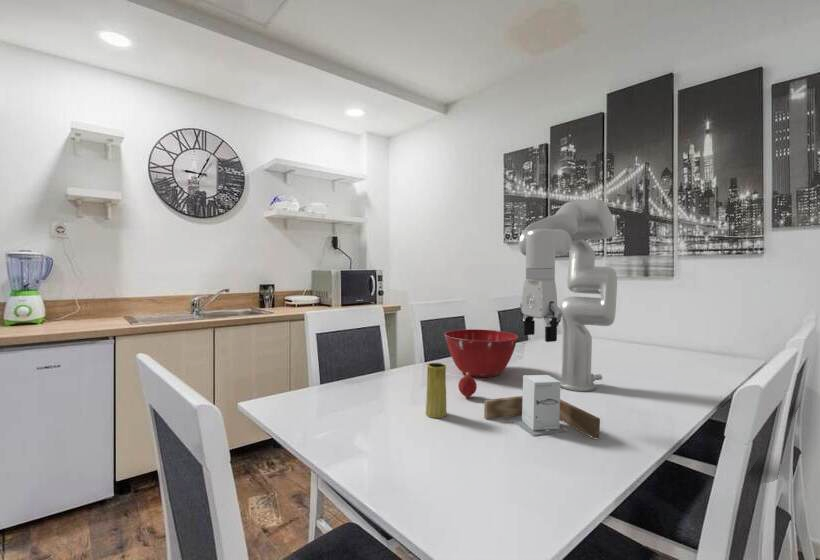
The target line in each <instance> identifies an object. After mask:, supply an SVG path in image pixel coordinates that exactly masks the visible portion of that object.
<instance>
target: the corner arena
mask: <svg viewBox="0 0 820 560" xmlns="http://www.w3.org/2000/svg"><path fill="white" fill-rule="evenodd" d="M522 402H523V395H519V396H510V397H502V398H493V399H492V398H490V399H484V406H483V407H484V408H483V409H484V411H483V412H484V413H483V416H484V417H483V418H484V419H485V420H493V419H502V418H511V417H518V416H522ZM559 421H561V422H563V421H564V422H563V423H564V424H566V423H567V425H568V424H569V426H570V425H571V426H570V427H572V426H573V427H572V428H574V427H575V428H577V429H578V430H577V429H576V430H577V431H579V430H580V431H579V432H581V431H582V432H584V433H586V434H588V435H590V436H592V437H593V438H599V439H600V437H601V436H600V429H601V427H600V426H601V418H600V417H598V416H596V415H593V414H591V413H589V412H587V411H585V410H583V409H581V408H579V407H577V406H575V405H573V404H571V403H570V402H567V401H564V400H563V399H561V398H560V416H559ZM575 428H574V429H575ZM582 432H581V433H582ZM584 433H583V434H584ZM586 434H585V435H586ZM588 435H587V436H588ZM590 436H589V437H590ZM593 438H592V439H593Z"/></svg>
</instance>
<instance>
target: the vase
mask: <svg viewBox="0 0 820 560" xmlns="http://www.w3.org/2000/svg"><path fill="white" fill-rule="evenodd" d="M426 366H427V372H426V373H427V375H426V401H425V405H426V406H425V416H427V417H428V418H431V419H441V418H445V417H447V414H448V412H447V386H446V385H447V384H446V381H447V380H446V379H447V377H446V375H447V374H446V372H447V371H446V369H447V365H446V364H445V363H441V362H430V363H428V364H427V365H426Z"/></svg>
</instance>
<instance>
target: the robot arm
mask: <svg viewBox="0 0 820 560" xmlns="http://www.w3.org/2000/svg"><path fill="white" fill-rule="evenodd" d="M615 228H616V227H615V219H614V217H613V215H612V213H611V211H610V208H609V206H608V205H607V204H606V202H604V200H602V199H599V198H592V199H582V200H581V199H580V200H577V199H576V200H570V201H568V202H565V203H564V204H563V205H562V206H560V207H559V209H558V210H557V211H556V212H555V213H554V214H552V215H549V216H547V217H544V218H541V219H539V220H537V221H534V222H532V223H531V224H528V225H527V226H526V228H524V229H523V231H522V232H521V234H520V235H519V238H518V250H519V252H520V253H521V254H522V255H523V256H525V279H524V282H523V286H522V287H523V288H522V298H521V303H520V304H519V306H520V307H519V308H520V311H521V315H522V320H523V335H524V336H533V335H535V331H536V330H535V324H536V323H535V320H534V319H539V320H540V319H543V320H544V322H545V324H546V326H545V327H544V332H545V333H544V334H545V335H544V341H545V342H546V343H551V342H553V343H554V342H557V340H558V326H559V323H562V351H561V353H562V354H561V355H562V357H561V358H562V359H561V362H562V363H561V378H559V379H557V380H558V381H560V388H562V389H565V390H569V391H574V392H575V391H576V392H589V391H591V392H592V391H594V390H596V389H597V388H596V387H597V385H596V383H595V381H601V380H603V375H602V374H600V373H599V374H594V373H592V357H593V355H592V350H593V349H592V346H593V345H592V343H593V342H592V341H593V338H592V335H591V332H590V331H589V330H588V328H587V327H586V326H598V327H609V326H612V325H613V323H614V322H615V319H616V314H617V313H616V311H617V295H618V277H617V275H618V274H617V272H616V271H615V269H614V268H613V267H609V266H595V263H596V261H595V260H596V253H595V250H594V248H592V247H591V245H590V244H589V243H588V242H587V240H606V239H610V238H611V237H612V236H613V235H614V233H615ZM567 254H569V255H568V256H569V257H568V268H567V279H566V280H567V281H566V282H567V288H568V290H569V291H570V292H572V293H575V294H576V293H577V294H585V295H586V294H588V295H589V294H590V295H592V294H593V295H600V297H591V296H569V297H566V298H564V299H563V300H562V301H561V303H560V307H559V306H558V294H557V286H556V279H555V278H556V257H562V256H565V255H567Z"/></svg>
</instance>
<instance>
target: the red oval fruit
mask: <svg viewBox="0 0 820 560" xmlns="http://www.w3.org/2000/svg"><path fill="white" fill-rule="evenodd" d="M458 390H459V392H460V394H461V395H462V396H464V397H465V398H466V399H467V398H470V397H471V396H473V395H474V394H475V393H476V391H477V381H476V380H475V378H474V377H473V376H470V374H469V373H466V374H464V376H463V377H461V378H460V380H459V382H458Z"/></svg>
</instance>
